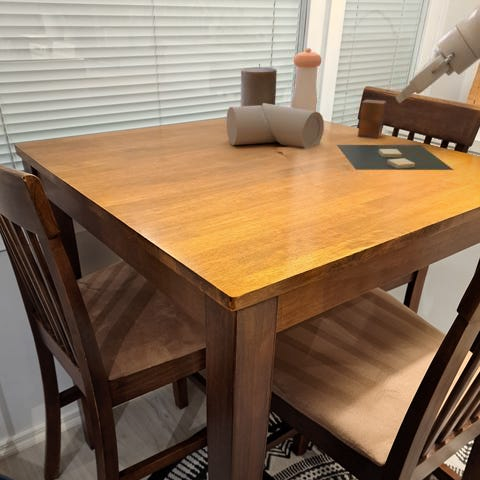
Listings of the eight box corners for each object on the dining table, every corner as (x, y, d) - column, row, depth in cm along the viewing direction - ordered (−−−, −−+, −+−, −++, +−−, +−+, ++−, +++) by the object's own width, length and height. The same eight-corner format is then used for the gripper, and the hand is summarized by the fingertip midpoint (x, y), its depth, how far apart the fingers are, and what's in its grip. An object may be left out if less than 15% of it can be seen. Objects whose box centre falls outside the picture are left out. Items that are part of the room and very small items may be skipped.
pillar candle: (280, 122, 141) (283, 63, 133) (263, 128, 134) (265, 66, 126) (251, 118, 145) (252, 61, 137) (233, 124, 138) (233, 64, 130)
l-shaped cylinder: (298, 128, 128) (224, 133, 123) (304, 86, 121) (226, 89, 116) (326, 161, 117) (245, 168, 112) (335, 117, 109) (249, 122, 104)
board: (419, 149, 117) (420, 145, 117) (452, 174, 100) (454, 169, 100) (336, 149, 117) (336, 144, 116) (355, 174, 100) (355, 169, 99)
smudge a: (395, 152, 111) (396, 149, 110) (401, 157, 107) (402, 153, 107) (378, 152, 110) (378, 148, 110) (383, 157, 107) (383, 153, 107)
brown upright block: (380, 139, 125) (386, 101, 120) (377, 142, 122) (383, 103, 117) (360, 137, 127) (365, 99, 122) (357, 140, 124) (362, 101, 119)
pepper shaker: (304, 124, 139) (310, 46, 129) (321, 129, 134) (329, 48, 123) (283, 127, 136) (288, 47, 125) (300, 132, 131) (306, 50, 120)
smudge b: (403, 162, 104) (404, 158, 104) (414, 167, 101) (415, 163, 101) (386, 163, 103) (387, 159, 103) (397, 168, 100) (398, 164, 100)
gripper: (460, 69, 101) (401, 115, 109) (465, 60, 117) (413, 101, 125) (442, 43, 100) (385, 92, 108) (449, 37, 116) (398, 80, 124)
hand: (400, 97), depth 117 cm, fingers open, 8 cm apart
